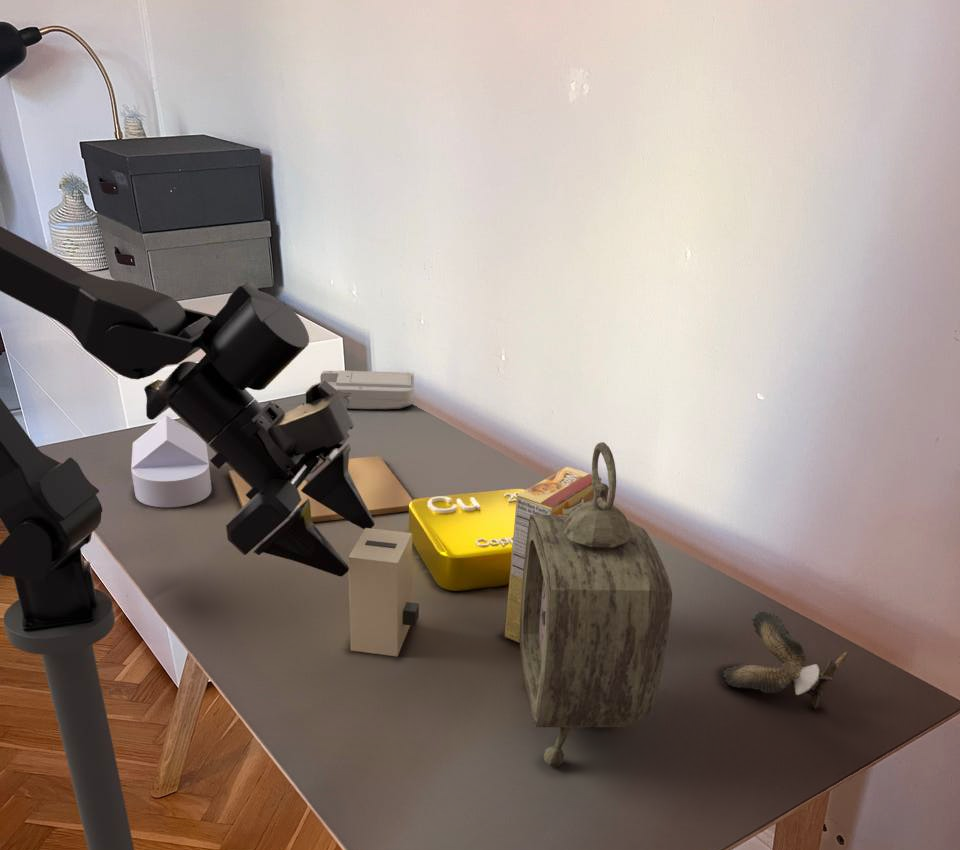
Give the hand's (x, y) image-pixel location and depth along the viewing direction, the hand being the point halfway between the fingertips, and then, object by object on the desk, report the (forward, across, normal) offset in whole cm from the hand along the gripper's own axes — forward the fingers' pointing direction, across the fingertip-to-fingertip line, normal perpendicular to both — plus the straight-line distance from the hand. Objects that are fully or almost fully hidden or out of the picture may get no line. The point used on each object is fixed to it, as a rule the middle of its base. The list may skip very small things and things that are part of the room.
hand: (359, 549), depth 86 cm
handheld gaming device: (-8, +66, +15) cm, 68 cm away
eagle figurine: (+34, 0, -21) cm, 40 cm away
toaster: (+8, 0, +5) cm, 9 cm away
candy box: (+19, +5, -6) cm, 21 cm away
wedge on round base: (-16, +28, +29) cm, 43 cm away
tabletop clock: (+22, -10, -8) cm, 25 cm away
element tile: (+13, +19, 0) cm, 23 cm away
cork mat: (-3, +30, +16) cm, 35 cm away
